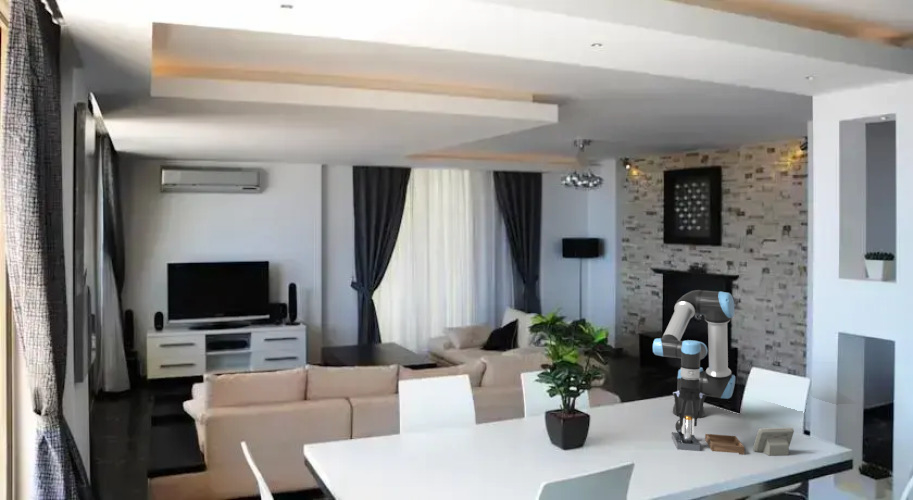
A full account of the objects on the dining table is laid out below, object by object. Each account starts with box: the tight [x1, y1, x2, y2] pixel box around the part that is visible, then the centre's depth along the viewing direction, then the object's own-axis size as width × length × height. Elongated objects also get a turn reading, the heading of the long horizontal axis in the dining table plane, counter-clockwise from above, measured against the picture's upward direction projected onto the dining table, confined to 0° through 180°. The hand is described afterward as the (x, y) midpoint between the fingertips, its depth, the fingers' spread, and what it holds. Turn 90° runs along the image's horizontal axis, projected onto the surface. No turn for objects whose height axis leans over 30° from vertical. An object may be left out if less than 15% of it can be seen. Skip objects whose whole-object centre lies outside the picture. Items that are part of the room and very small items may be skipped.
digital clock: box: [752, 427, 795, 457], centre depth 297 cm, size 16×9×11 cm, turn 88°
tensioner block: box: [671, 418, 701, 452], centre depth 303 cm, size 16×9×10 cm, turn 171°
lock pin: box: [684, 415, 692, 443], centre depth 299 cm, size 3×3×13 cm
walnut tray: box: [704, 433, 745, 455], centre depth 302 cm, size 16×13×3 cm
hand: (687, 433), depth 299 cm, fingers closed on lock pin, 3 cm apart
